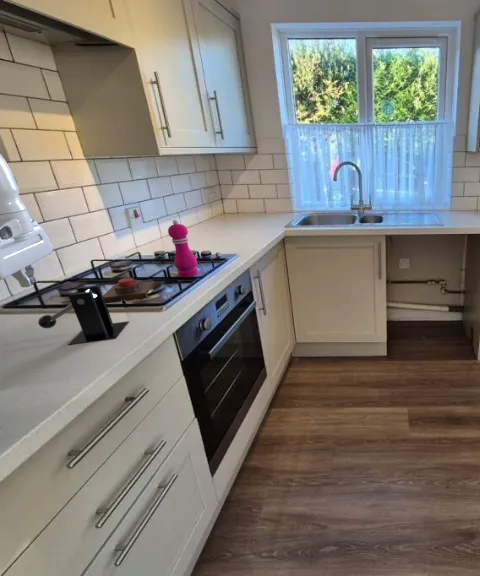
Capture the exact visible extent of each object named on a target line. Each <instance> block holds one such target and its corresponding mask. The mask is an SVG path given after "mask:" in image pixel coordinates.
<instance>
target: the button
mask: <svg viewBox="0 0 480 576" xmlns="http://www.w3.org/2000/svg"><path fill="white" fill-rule="evenodd" d="M134 280H135V279H134V278H133V277H124V278H121V279H119V280H118V282H117V283H119V286H120V287H125V286H130V285H133V284H135V282H134Z"/></svg>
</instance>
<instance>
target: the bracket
mask: <svg viewBox="0 0 480 576" xmlns="http://www.w3.org/2000/svg"><path fill="white" fill-rule="evenodd" d="M88 289H91V290H92V291H93V292H94V293H95V294H96V295H97V297H96V298H94V296H93V294H92V291H90V292H84V291H86V290H88ZM76 291H77V292H73V293H69V294H68V299H69V301H70V304H72V306H73V309H72V310H73V311H74V313H75V316H76V318H77V321H78V323H79V326H80V328H81V331H80V332H79V333H78V334H77V335H76V336H75V337H74V338H73V339H72V340H71V341H70V342H69V343H68V344H67V346H74V345H80V344H81V345H82V344H88V343H96V342H102V341H109V340H116V339H117V338H118V337H119V336H120V334H121V333H122V332H123V331H124V329H125V328H126V327H127V326H128V324H129V323H130V321H129V320H128V321H119V322H114V321H113V319H112V317H111V313H110V311H109V309H108V305H107V303H105V300H104V297H103V295H104V294H103V292H102V290H101V287H100V285H99V284H97V285H87V286H79V287H77V288H76Z"/></svg>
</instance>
